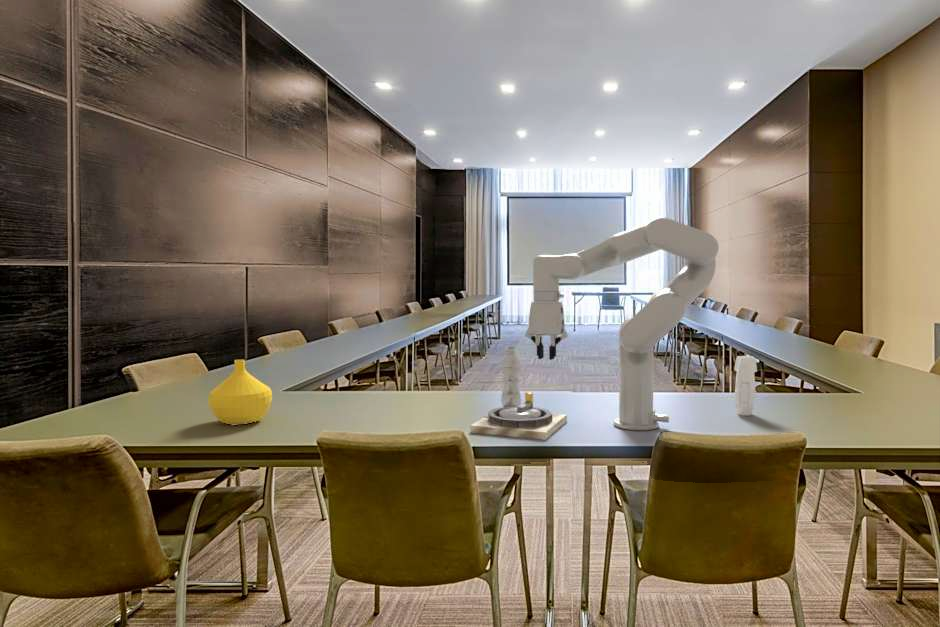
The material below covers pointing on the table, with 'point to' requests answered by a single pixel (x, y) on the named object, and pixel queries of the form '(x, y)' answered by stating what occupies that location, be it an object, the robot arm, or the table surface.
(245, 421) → the vase
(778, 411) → the table surface
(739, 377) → the flashlight
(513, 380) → the plastic bottle
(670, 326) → the robot arm
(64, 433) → the table surface
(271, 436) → the table surface
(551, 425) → the dial plate
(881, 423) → the table surface
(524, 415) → the dial
